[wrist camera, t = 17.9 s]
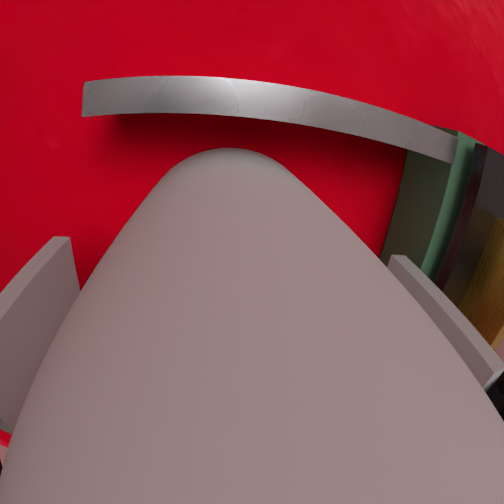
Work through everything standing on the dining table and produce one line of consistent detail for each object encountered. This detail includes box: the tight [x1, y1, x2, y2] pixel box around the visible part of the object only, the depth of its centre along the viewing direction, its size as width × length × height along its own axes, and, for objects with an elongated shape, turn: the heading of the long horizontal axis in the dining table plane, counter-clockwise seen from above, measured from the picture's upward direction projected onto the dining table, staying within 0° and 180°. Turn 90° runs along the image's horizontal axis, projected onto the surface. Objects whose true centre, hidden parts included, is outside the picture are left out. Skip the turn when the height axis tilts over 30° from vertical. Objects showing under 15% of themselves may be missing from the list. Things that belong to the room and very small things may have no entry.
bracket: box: [82, 76, 459, 165], centre depth 12 cm, size 14×13×4 cm
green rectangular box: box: [379, 125, 486, 282], centre depth 14 cm, size 10×14×4 cm
